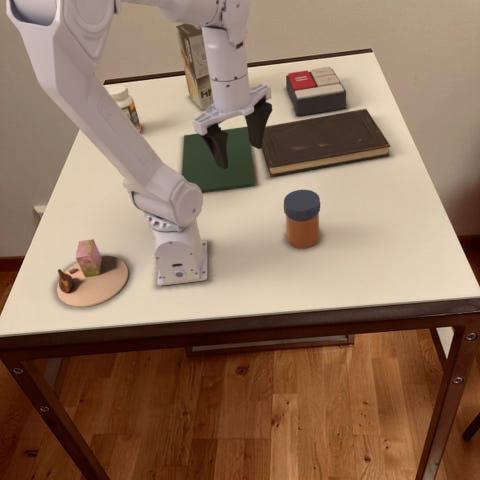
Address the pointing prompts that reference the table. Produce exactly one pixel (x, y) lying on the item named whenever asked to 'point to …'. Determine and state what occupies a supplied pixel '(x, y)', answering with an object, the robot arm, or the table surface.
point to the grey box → (315, 91)
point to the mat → (206, 170)
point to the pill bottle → (125, 103)
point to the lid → (301, 205)
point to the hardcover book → (322, 142)
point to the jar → (303, 232)
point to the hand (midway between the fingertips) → (239, 156)
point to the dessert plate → (92, 277)
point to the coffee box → (195, 64)
